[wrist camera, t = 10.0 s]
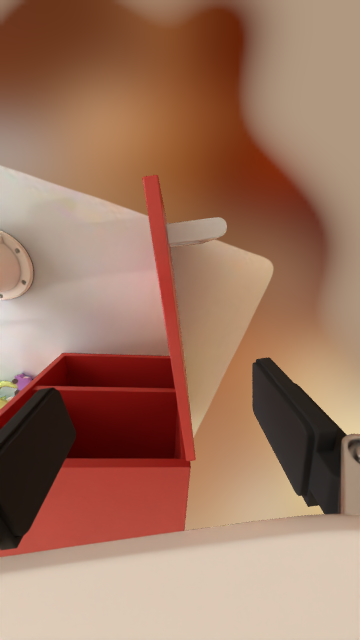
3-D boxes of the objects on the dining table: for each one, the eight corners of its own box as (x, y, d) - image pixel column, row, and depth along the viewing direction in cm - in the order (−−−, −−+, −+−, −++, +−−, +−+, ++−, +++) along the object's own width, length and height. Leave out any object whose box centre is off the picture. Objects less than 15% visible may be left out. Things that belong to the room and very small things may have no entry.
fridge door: (200, 221, 35) (249, 162, 12) (210, 350, 43) (250, 453, 21) (161, 226, 35) (142, 176, 12) (179, 353, 43) (186, 461, 21)
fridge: (62, 352, 42) (-65, 467, 20) (181, 356, 44) (190, 467, 21) (72, 417, 48) (-17, 563, 25) (177, 418, 49) (181, 558, 27)
